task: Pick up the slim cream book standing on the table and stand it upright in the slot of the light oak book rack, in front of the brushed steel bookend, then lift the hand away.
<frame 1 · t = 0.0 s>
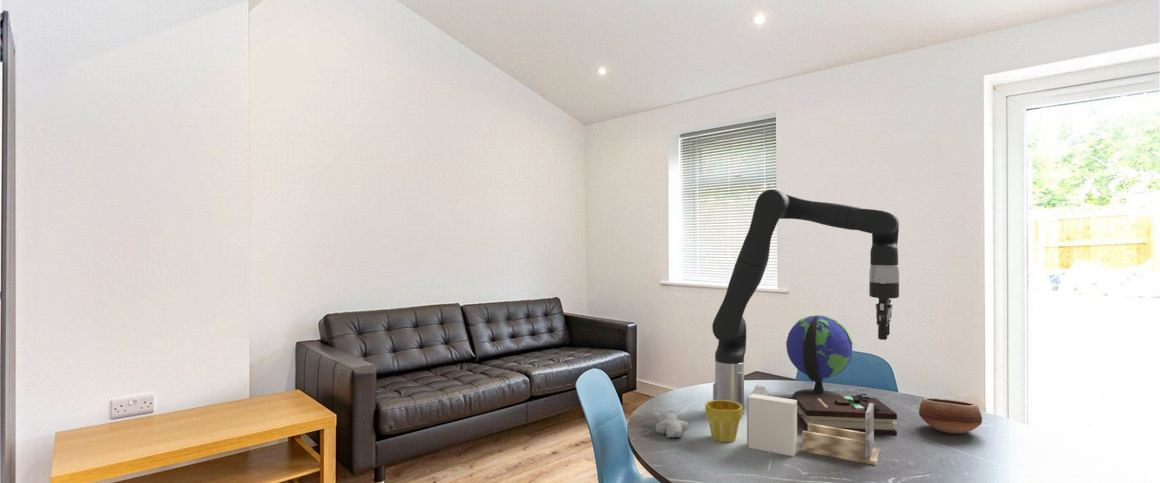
hand: (883, 337, 162), 29 cm above the table, tool pointing down, fingers open, 8 cm apart
plant pot: (723, 439, 163), on the table
globe: (819, 399, 202), on the table
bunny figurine: (669, 432, 169), on the table
slim book: (772, 449, 154), on the table
bowl: (949, 432, 167), on the table
book rack: (840, 451, 152), on the table
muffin: (760, 405, 195), on the table
decorative book: (842, 425, 175), on the table
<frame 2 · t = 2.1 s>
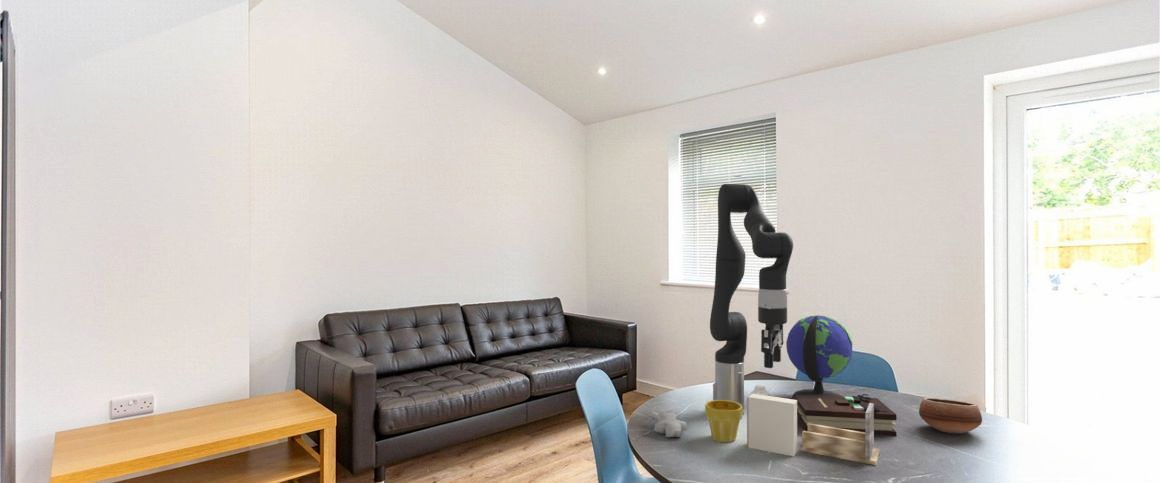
hand: (772, 364, 154), 23 cm above the table, tool pointing down, fingers open, 8 cm apart
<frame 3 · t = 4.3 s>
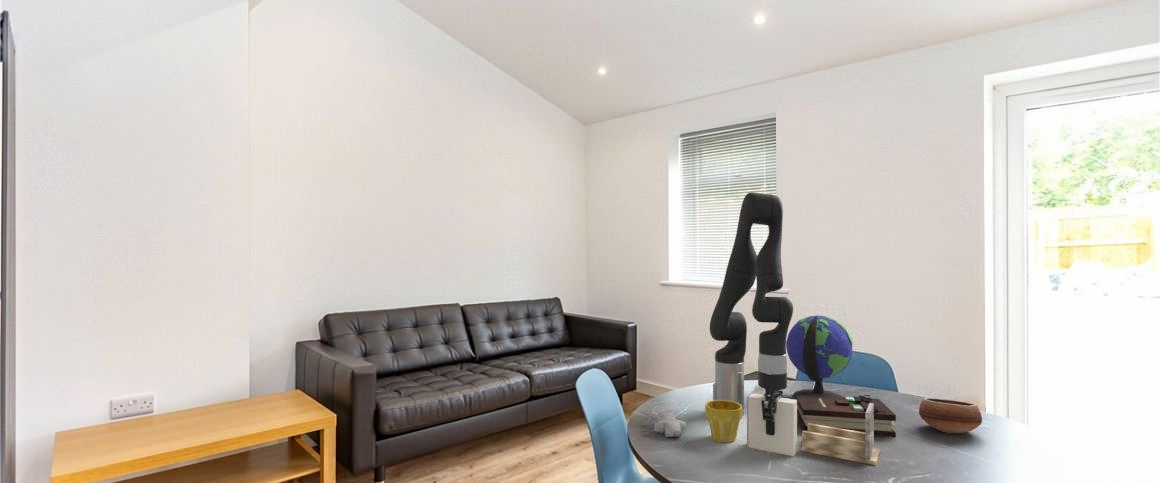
hand: (772, 431, 154), 5 cm above the table, tool pointing down, fingers closed on slim book, 4 cm apart
slim book: (772, 449, 154), on the table, touching gripper
everything else where it was.
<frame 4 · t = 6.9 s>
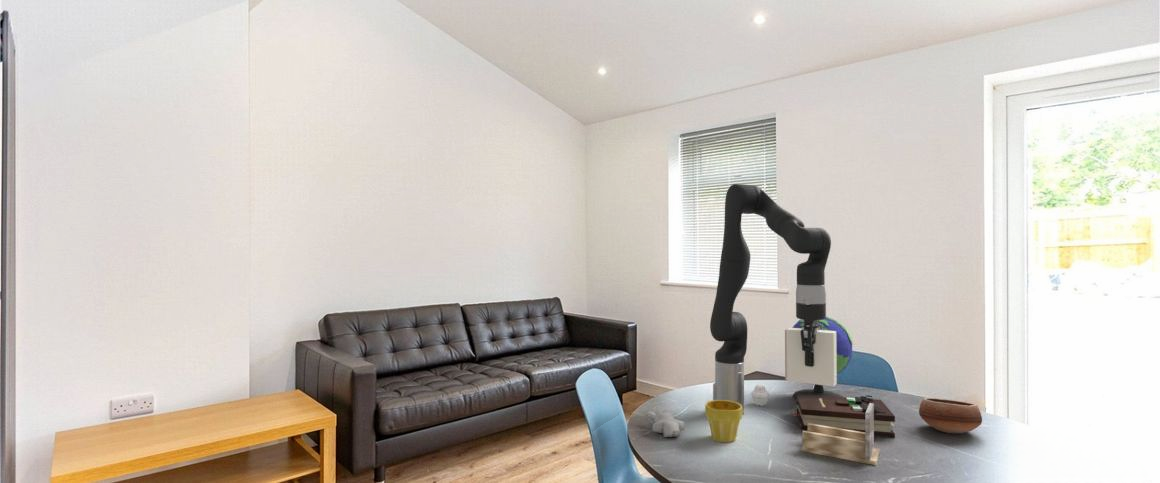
hand: (811, 364, 153), 24 cm above the table, tool pointing down, fingers closed on slim book, 4 cm apart
slim book: (811, 381, 153), point 19 cm above the table, touching gripper
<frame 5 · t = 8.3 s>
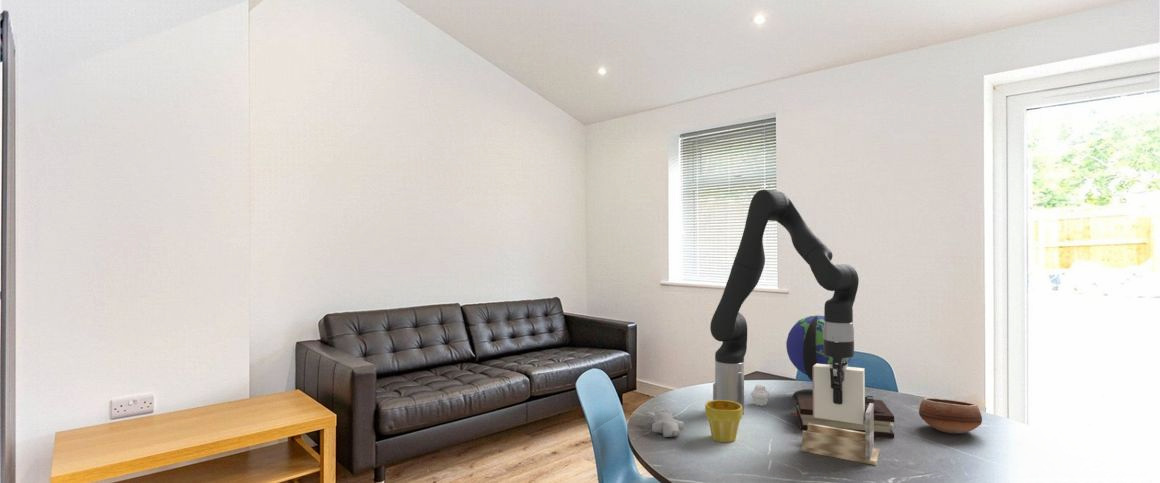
hand: (839, 401, 152), 14 cm above the table, tool pointing down, fingers closed on slim book, 4 cm apart
slim book: (839, 418, 152), point 9 cm above the table, touching gripper
when the fingers open (7 cm above the table, at t = 9.5 s): slim book stays where it is, point 2 cm above the table.
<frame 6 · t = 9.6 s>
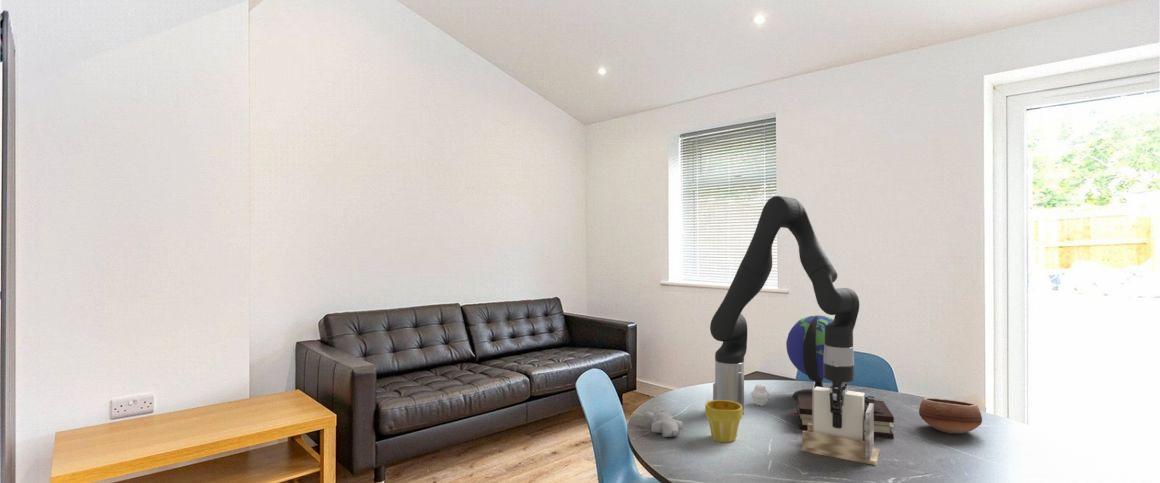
hand: (838, 424, 153), 7 cm above the table, tool pointing down, fingers open, 4 cm apart
slim book: (838, 442, 153), point 2 cm above the table
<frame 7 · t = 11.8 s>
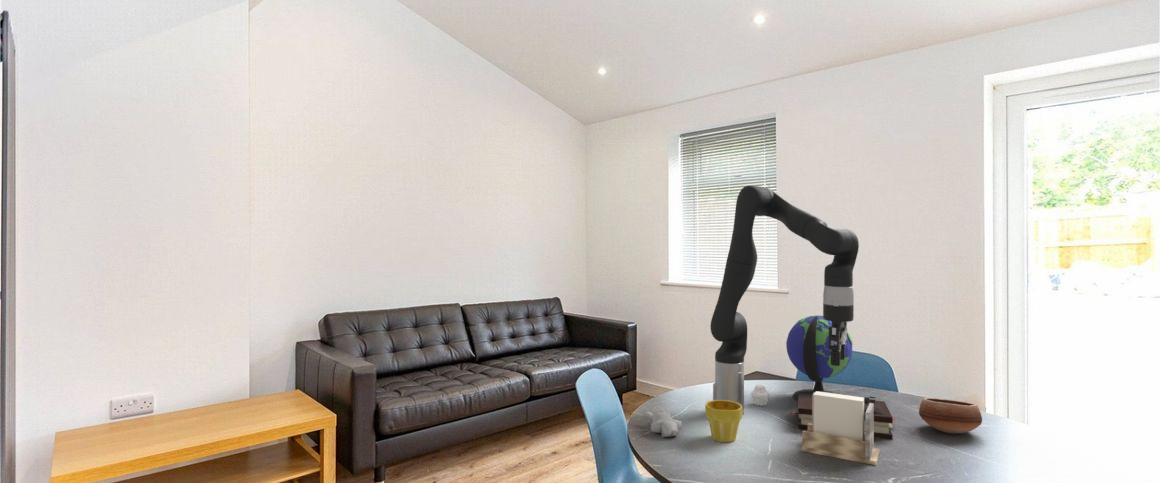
hand: (837, 362, 153), 24 cm above the table, tool pointing down, fingers open, 8 cm apart
slim book: (838, 447, 153), point 1 cm above the table, touching book rack
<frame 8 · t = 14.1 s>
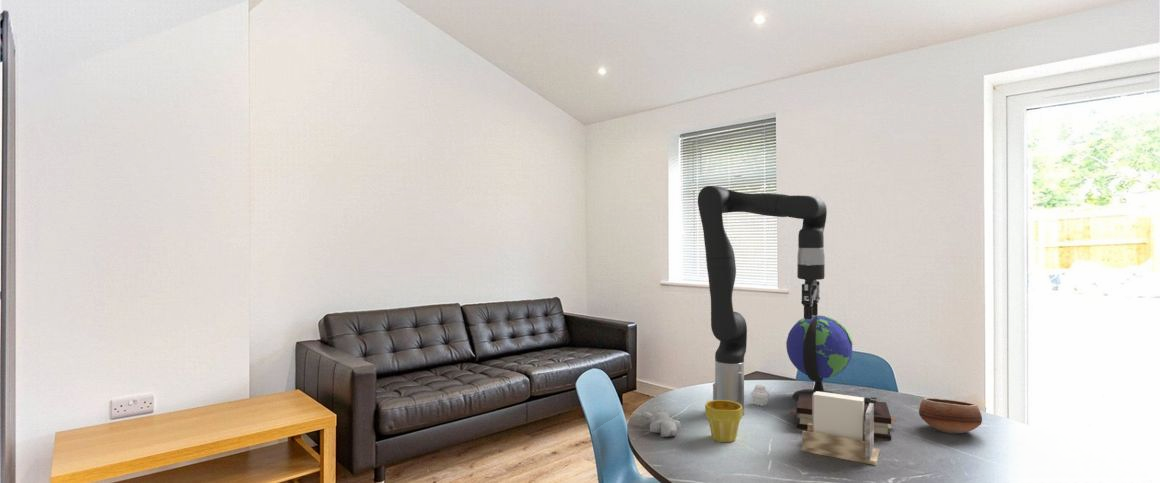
hand: (810, 317, 168), 34 cm above the table, tool pointing down, fingers open, 8 cm apart
at the end: slim book 0.3 cm off-centre on the book rack, point 1.0 cm above the book rack's base; slim book tilted 0°; the gripper is holding nothing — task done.
